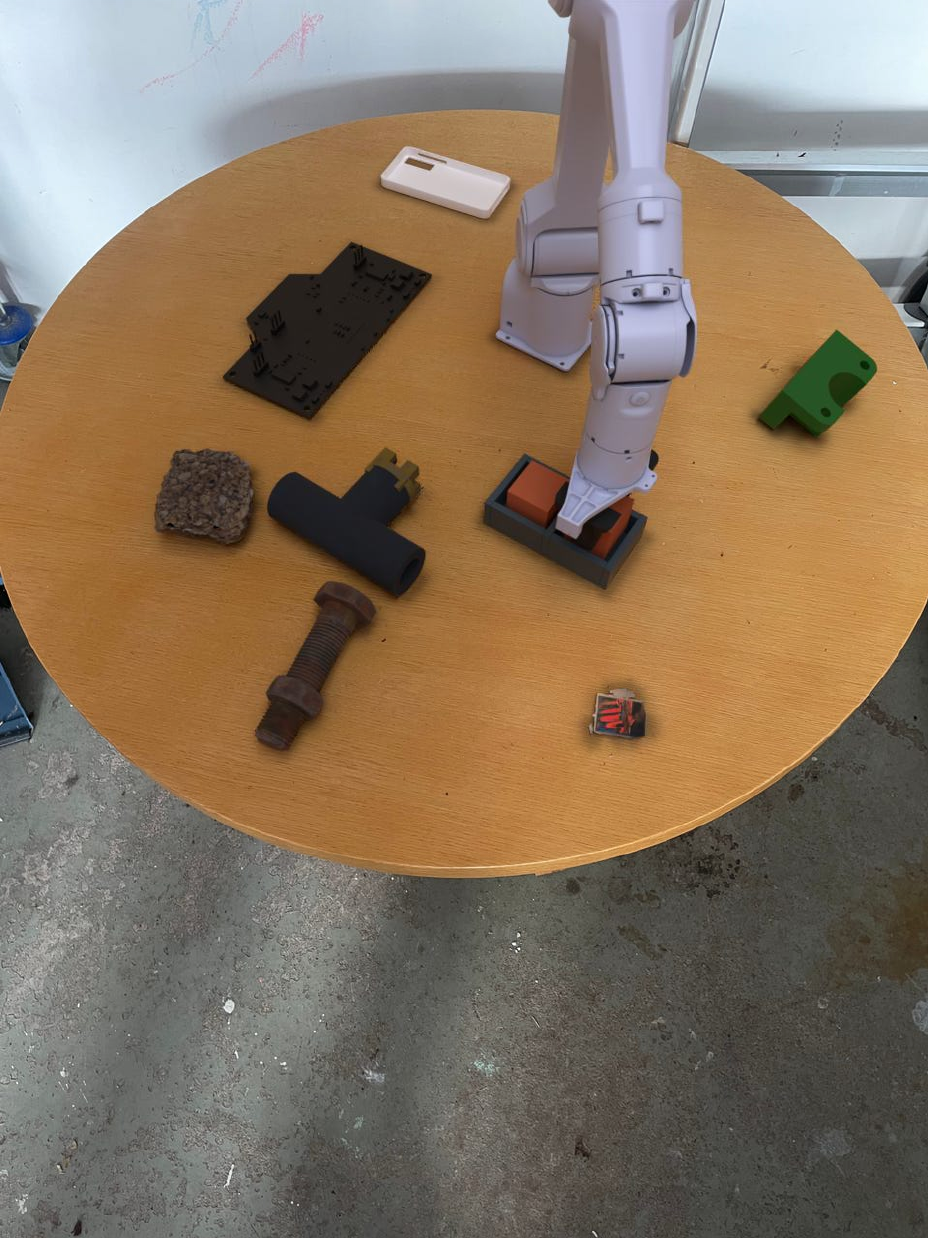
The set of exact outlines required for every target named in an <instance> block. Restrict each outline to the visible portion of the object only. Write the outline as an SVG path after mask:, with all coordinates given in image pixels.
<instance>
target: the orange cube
mask: <svg viewBox="0 0 928 1238" xmlns="http://www.w3.org/2000/svg"><path fill="white" fill-rule="evenodd" d="M566 481H567V482H569V483H570V480H569V479H567V478H565V477H563V476H561V475H559V474H557V473H555V472H554V471H552V470H550V469H548V468H546V467H544V466H542V465H540V464H538V463H536V462H534V461H531V462H530V463H529V465H528V466H527V467H526V468H525V470H524V471H523V472H522V473H521V475H520V476H519V477H518V478H517V480H516V481H515V482H514V483H513V485H512V486H511V487H510V488H509V490H508V493H507V504H506V508H508V509H510V510H512V511H514V512H515V513H517V514H519V515H521V516H523V517H525V518H527V519H528V520H530V521H532V522H534V523H536V524H538V525H540V526H541V527H543V528H545V529H546V530H547V529H548V527H549V526H550V525H551V523H552V522H553V521H554V519H555V518H556V517H557V515H558V514H559V512H560V511H559V510H558V509H557V508H556V507H555V497H556V494H557V492H558V491H559V489H560V488H561V487H562V485H563V484H564V483H565V482H566Z"/></svg>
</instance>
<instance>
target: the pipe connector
mask: <svg viewBox="0 0 928 1238" xmlns="http://www.w3.org/2000/svg"><path fill="white" fill-rule="evenodd" d="M397 463H398V456H397V453H396V452H395V451H393V450H391V449H389V448H388V447H386V446H384V448H383V449H382V450H381V451H380V452H379V453H378V454H377V455H376V456H375V457H374V458H373V459H372V461H370V462H369V464H368V465H367V466H366V467H365V468H364V473H363V474H362V475H361V476H360V477H359V478H358V480H356V481H355V483H354V484H352V486H350V488H349V489H348V490H347V491H346V492H345V493H344V494H343V495H342V496H341V497H339V496H337V495H336V494H334V493H332V492H331V491H329V490H327V489H326V488H324V487H323V486H321V485H319V484H318V483H316V482H314V481H312V480H311V479H310V478H307V477H305V476H304V475H302V474H301V473H299V472H298V471H291V472H289V473H286V474H285V475H283V476H282V477H281V478H279V480H278V481H277V482H276V483H275V485H274V486H273V488H272V490H271V492H270V493H269V495H268V499H267V504H266V511H267V514H268V516H269V517H270V518H272V519H273V520H274V521H276V522H278V523H279V524H281V525H283V526H284V527H286V528H288V529H289V530H291V531H292V532H294V533H295V534H297V535H298V536H300V537H302V538H304V539H305V540H306V541H308V542H310V543H311V544H313V545H315V546H316V547H318V548H319V549H321V550H322V551H324V552H325V553H327V554H329V555H331V557H334V558H335V559H336V560H338V561H340V562H341V563H343V564H344V565H346V566H347V567H349V568H351V569H352V570H354V571H356V572H357V573H359V574H361V575H362V576H364V577H365V578H367V579H369V580H370V581H371V582H373V583H375V584H376V585H378V586H380V587H381V588H383V589H384V590H386V591H388V592H389V593H390V594H392V595H394V596H397V597H398V596H401V595H403V594H404V593H406V592H407V591H408V590H409V588H411V587H412V586H413V584H414V583H415V582H416V580H417V579H418V577H419V576H420V573H421V571H422V570H423V567H424V564H425V562H426V557H427V556H426V555H427V553H426V549H424V548H423V547H421V546H420V545H418V544H416V543H415V542H414V541H412V540H410V539H408V538H406V537H405V536H403V535H402V534H400V533H398V532H396V531H395V530H393V529H392V528H390V527H389V525H390V524H391V523H392V522H393V520H394V519H395V518H396V517H397V516H398V515H399V514H402V513H403V512H404V511H406V509H407V507H409V505H411V503H412V502H413V501H414V500H415V499H416V498H417V497H418V495H419V494H420V493H421V492H422V490H421V489H422V487H421V483H420V482H419V481H417V480H416V479H417V478H418V477H419V476H420V466H419V465H417V464H416V463H414V462H412V461H411V460H409V459H407V460H406V461H405V462H404V463H403V464H402V465H401V466H400V467H399V466H397V465H396V464H397Z"/></svg>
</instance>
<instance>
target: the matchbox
mask: <svg viewBox="0 0 928 1238" xmlns="http://www.w3.org/2000/svg"><path fill="white" fill-rule="evenodd" d="M595 697H596V703H595V705H594V707H595V712H594V713H593V714H591V716H592V717H594V724H593V723H592V722H590V724H589V725H588V729H589V733H590V736H591V737H592V736H593V737H594V735H593V733H596V734H598V735H607V736H615V737H619V739H622V737H623V738H625V739H633V738H643V737H646V733H647V723H648V717H647V712H646V709H645V705H644V701H643V700H638V699H636V694H635V693H634V691H633V690H629V689H628V688H624V687H623V688H616V689H610V690H609V694H604V693H601V692H597V694H596V696H595Z"/></svg>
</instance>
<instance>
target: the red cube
mask: <svg viewBox="0 0 928 1238" xmlns="http://www.w3.org/2000/svg"><path fill="white" fill-rule="evenodd" d="M634 503H635V499H634V498H631V497H630V496H629V497H628V496H625V497H623V498H621V499H620V500H618V501H617V502H615V503H614V504H612V505H610V506H609V508H611V509H613V510H615V511H617V512H619V513H621V514H622V515H621V516H620V518H619V519H618V520H617V522H616V523H615V525H614V526H613V527H612V528H611V529H610V530H609V531H608V532H607V533H603V534H602V535H601V537H600V539H599V541H598V542H597V543H596V545H595V546H594V548H593V549H592V550H587V549H585V548H584V547H582V546H580V545H578V544H576V543H574V542H572V538H571V536H569V535H567V534H565V533H564V537H563V538H564V539H566V540H567V541H569V542H571V543H573V544H575V545H577V546H579V547H580V548H582V549H584V550H586V551H588V552H590V553H592V554H593V555H595V556H597V557H599V558H601V559H603V560H604V559H605V558H606V556H607V555H608V553H609V552H610V551H611V549H612V548H613V546H614V545H615V543H616V542H617V541H618V539H619V538H620V536H621V535H622V533H623V532H624V531H625V529H626V527H627V524H628V520H629V517H630V514H631V510H632V509H633V507H634Z"/></svg>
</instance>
